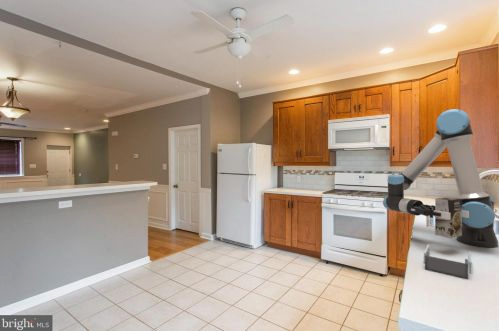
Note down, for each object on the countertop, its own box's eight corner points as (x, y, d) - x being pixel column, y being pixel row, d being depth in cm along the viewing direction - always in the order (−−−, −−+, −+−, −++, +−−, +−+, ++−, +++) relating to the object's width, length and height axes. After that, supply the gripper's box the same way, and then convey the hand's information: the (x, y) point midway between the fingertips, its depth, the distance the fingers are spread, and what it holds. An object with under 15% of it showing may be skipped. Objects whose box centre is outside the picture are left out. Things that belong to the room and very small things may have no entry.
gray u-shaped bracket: (427, 253, 110) (427, 241, 110) (470, 261, 101) (470, 249, 101) (421, 268, 95) (422, 255, 95) (471, 280, 86) (472, 265, 86)
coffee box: (451, 238, 106) (451, 200, 106) (434, 235, 112) (434, 198, 112) (462, 235, 110) (462, 198, 110) (445, 232, 116) (445, 196, 116)
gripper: (428, 212, 131) (478, 222, 110) (393, 215, 125) (438, 226, 104) (428, 198, 131) (478, 205, 110) (393, 200, 125) (438, 208, 104)
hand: (459, 215), depth 107 cm, fingers closed on coffee box, 10 cm apart
